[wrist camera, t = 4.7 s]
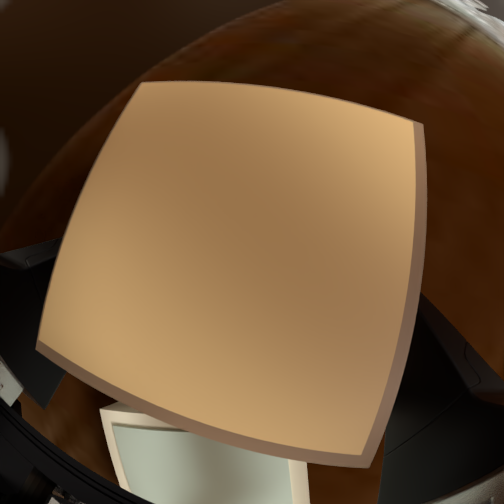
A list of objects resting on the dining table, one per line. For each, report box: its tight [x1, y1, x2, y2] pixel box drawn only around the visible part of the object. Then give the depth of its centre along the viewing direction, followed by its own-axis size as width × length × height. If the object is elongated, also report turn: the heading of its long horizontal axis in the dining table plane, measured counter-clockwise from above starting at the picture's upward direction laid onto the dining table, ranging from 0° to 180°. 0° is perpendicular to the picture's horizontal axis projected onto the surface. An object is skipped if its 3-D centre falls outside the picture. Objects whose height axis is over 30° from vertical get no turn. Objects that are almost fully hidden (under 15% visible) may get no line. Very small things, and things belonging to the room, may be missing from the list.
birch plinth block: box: [100, 402, 310, 504], centre depth 12 cm, size 10×10×4 cm
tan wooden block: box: [36, 81, 427, 468], centre depth 10 cm, size 5×5×13 cm
